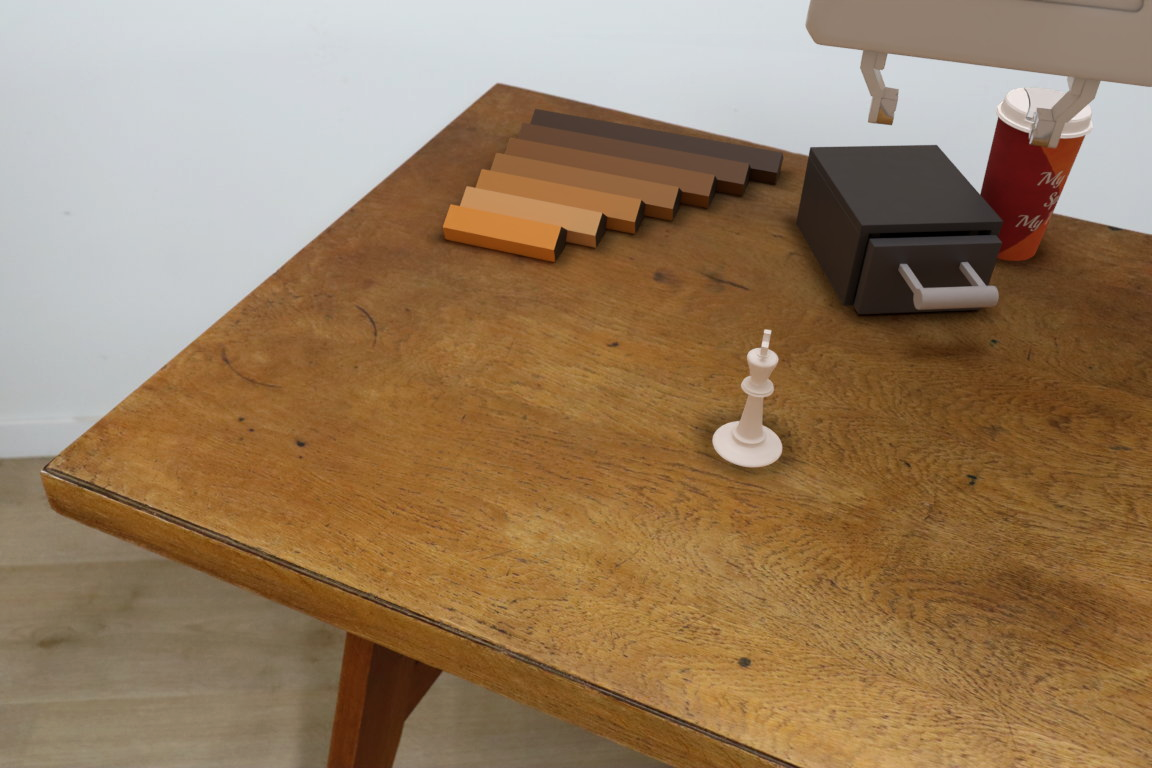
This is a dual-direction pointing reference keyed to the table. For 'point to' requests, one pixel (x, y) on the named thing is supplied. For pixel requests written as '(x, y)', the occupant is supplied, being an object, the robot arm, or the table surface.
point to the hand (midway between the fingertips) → (959, 131)
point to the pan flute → (595, 183)
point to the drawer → (927, 272)
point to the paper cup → (1028, 169)
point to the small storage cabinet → (882, 203)
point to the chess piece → (752, 416)
